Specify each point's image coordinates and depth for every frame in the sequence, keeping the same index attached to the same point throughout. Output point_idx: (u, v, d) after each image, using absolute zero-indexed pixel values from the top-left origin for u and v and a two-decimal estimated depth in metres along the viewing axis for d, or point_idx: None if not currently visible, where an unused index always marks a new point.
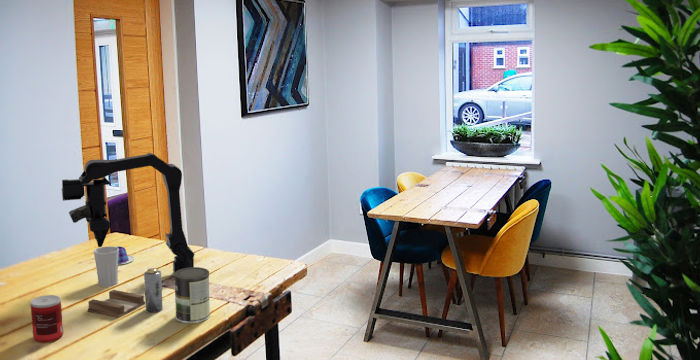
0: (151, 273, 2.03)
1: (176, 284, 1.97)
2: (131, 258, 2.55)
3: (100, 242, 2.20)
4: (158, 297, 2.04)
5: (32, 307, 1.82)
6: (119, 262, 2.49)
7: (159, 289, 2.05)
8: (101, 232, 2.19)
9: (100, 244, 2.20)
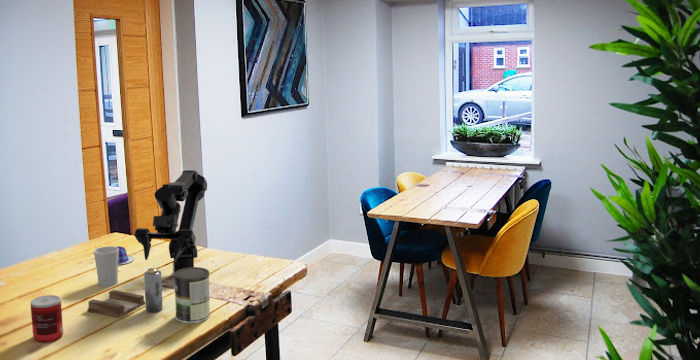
0: (151, 273, 2.03)
1: (176, 284, 1.97)
2: (131, 258, 2.55)
3: (177, 255, 2.13)
4: (158, 297, 2.04)
5: (32, 307, 1.82)
6: (119, 262, 2.49)
7: (159, 289, 2.05)
8: (181, 246, 2.15)
9: (176, 257, 2.13)
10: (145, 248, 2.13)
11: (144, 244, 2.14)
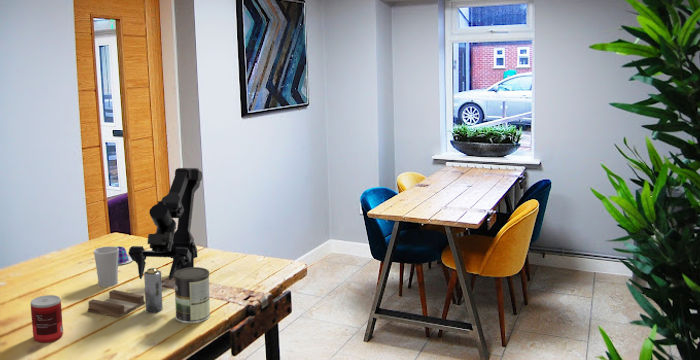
0: (151, 273, 2.03)
1: (176, 284, 1.97)
2: (131, 258, 2.54)
3: (172, 274, 2.08)
4: (158, 297, 2.04)
5: (32, 307, 1.82)
6: (119, 262, 2.49)
7: (159, 289, 2.05)
8: (176, 265, 2.10)
9: (172, 276, 2.08)
10: (139, 267, 2.08)
11: (138, 262, 2.09)
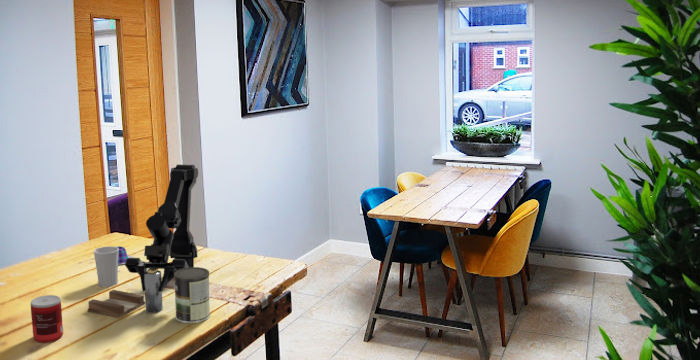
0: (151, 273, 2.03)
1: (176, 284, 1.97)
2: None
3: (163, 286, 2.05)
4: (158, 297, 2.04)
5: (32, 307, 1.82)
6: (118, 262, 2.49)
7: (159, 289, 2.05)
8: (168, 276, 2.08)
9: (162, 288, 2.05)
10: (142, 279, 2.05)
11: (141, 275, 2.06)
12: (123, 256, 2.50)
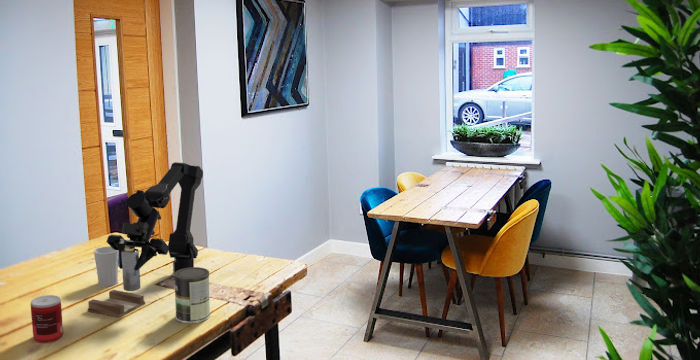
0: (127, 251, 2.02)
1: (176, 284, 1.97)
2: None
3: (140, 265, 2.03)
4: (134, 275, 2.03)
5: (32, 307, 1.82)
6: (118, 262, 2.49)
7: None
8: (146, 255, 2.05)
9: (139, 267, 2.03)
10: (121, 256, 2.05)
11: (120, 252, 2.05)
12: None
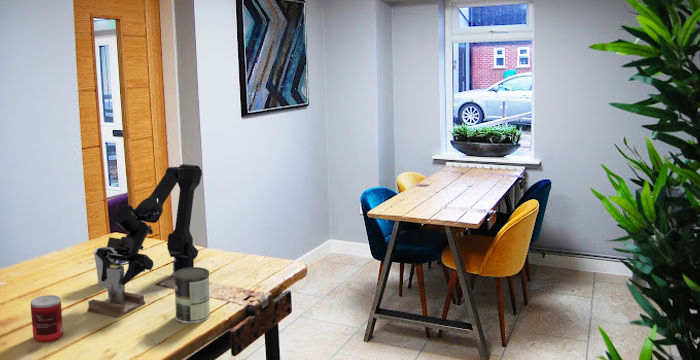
0: (112, 268, 2.04)
1: (176, 284, 1.97)
2: None
3: (126, 280, 2.04)
4: (117, 292, 2.05)
5: (32, 307, 1.82)
6: (118, 262, 2.49)
7: (119, 285, 2.05)
8: (133, 271, 2.06)
9: (125, 282, 2.04)
10: (104, 269, 2.07)
11: (104, 265, 2.08)
12: None
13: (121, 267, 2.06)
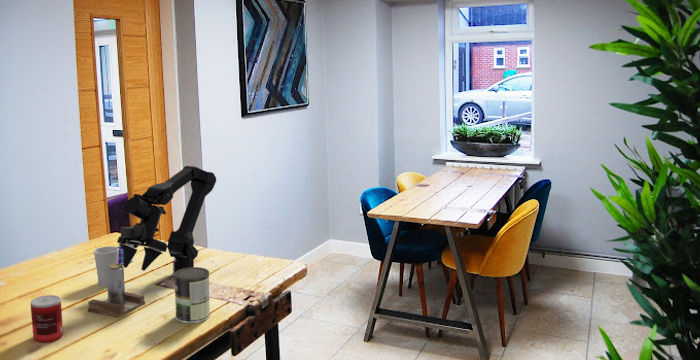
0: (111, 268, 2.04)
1: (176, 284, 1.97)
2: None
3: (146, 265, 2.13)
4: (117, 292, 2.05)
5: (32, 307, 1.82)
6: None
7: (119, 285, 2.05)
8: (151, 255, 2.14)
9: (145, 267, 2.13)
10: (124, 256, 2.19)
11: (124, 252, 2.19)
12: (122, 256, 2.50)
13: (121, 267, 2.06)
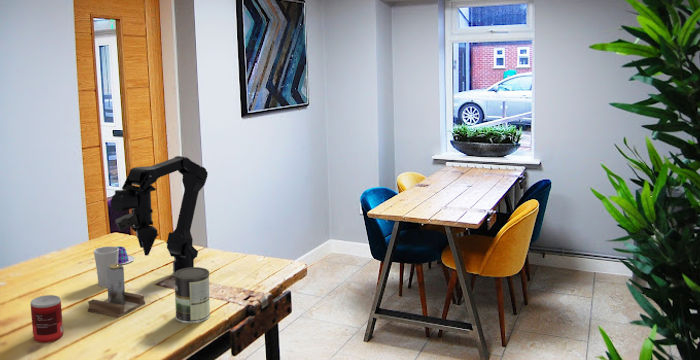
0: (111, 268, 2.04)
1: (176, 284, 1.97)
2: (131, 259, 2.54)
3: (147, 250, 2.17)
4: (117, 292, 2.05)
5: (32, 307, 1.82)
6: None
7: (119, 285, 2.05)
8: (148, 240, 2.16)
9: (147, 252, 2.17)
10: None
11: None
12: (122, 256, 2.50)
13: (121, 267, 2.06)
